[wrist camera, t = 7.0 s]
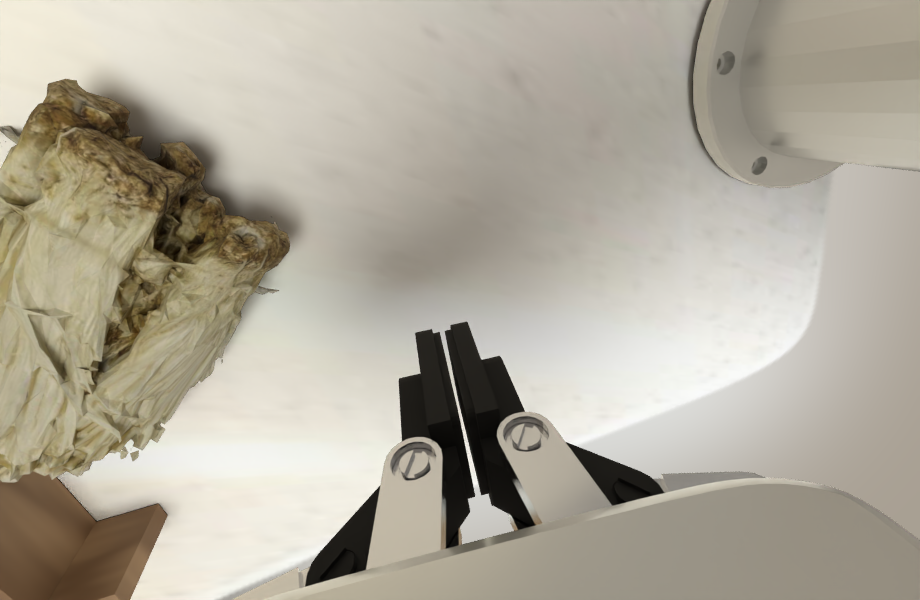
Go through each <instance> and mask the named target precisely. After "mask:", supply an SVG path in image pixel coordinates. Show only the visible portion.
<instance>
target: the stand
mask: <svg viewBox="0 0 920 600" xmlns="http://www.w3.org/2000/svg"><path fill="white" fill-rule="evenodd" d="M166 518H167V514H166V513H165V512H164V510H163V509H162V508H161V506H160V505H159V504H156V505H152V506H149V507H146V508H142V509H139V510H135V511H132V512H128V513H125V514H122V515H118V516H115V517H111V518H108V519H104V520H101V521H98V522H96V521H95V520H94V519H93V518H92V517H91V515H90V514H89V513H88V512H87V511H86V510H85V509H84V508H83V507H82V506H81V504H80V503H79V502H78V501H77V500H76V499H75V498H74V497H73V496H72V494H71V493H70V492H69V491H68V490H67V489H66V488H65V487H64V486H63V484H62V483H61V482H60V481H59V480H58V479H57V478H54V479H53V480H52V479H51V477H50V475H49V474H48V475H46V476H43V475H41V474H39V473H36V472H34V471H32V472H31V473H30V474H25V475H23V476H22V477H21V478H20V479H19V481H18V482H14V483H8V482H2V481H1V480H0V600H130V599H131V596H132V594H133V592H134V590H135V587H136V585H137V583H138V581H139V578H140V576H141V574H142V572H143V570H144V567H145V565H146V563H147V561H148V558H149V556H150V554H151V552H152V549H153V547H154V545H155V543H156V541H157V538H158V536H159V534H160V532H161V529H162V527H163V525H164V523H165V520H166Z"/></svg>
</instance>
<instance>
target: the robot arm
mask: <svg viewBox="0 0 920 600" xmlns="http://www.w3.org/2000/svg"><path fill="white" fill-rule="evenodd" d="M693 105H694V110H695V116H696V121H697V127H698V130H699V133H700V135H701V138H702V140H703V143H704V146H705V148H706V150H707V151H708V153H709V154H710V156H711V157H712V159H713V160H714V161H715V163H716V164H717V166H719V167H720V168H721V169H722V170H724V171H725V172H726V173H727V174H728V175H730V176H731V177H733V178H735V179H738V180H740V181H743V182H745V183H747V184H753V185H759V186H764V187H768V188H788V187H793V186H797V185H801V184H805V183H809V182H811V181H813V180H815V179H818V178H820V177H822V176H824V175H827V174H828V173H830V172H831V171H833V170H835V169H836V168H838V167H839V166H841V165H842V164H844V163H850V164H859V165H868V166H876V167H885V168H893V169H902V170H912V171H920V0H711V2H710V4H709V7H708V9H707V12H706V15H705V19H704V23H703V26H702V30H701V33H700V37H699V41H698V44H697V52H696V59H695V66H694V73H693ZM415 335H416V342H417V350H418V357H419V365H420V372H421V374H417V375H412V376H408V377H403V378H399V394H400V412H401V430H402V442H400V443H398V444H397V445H396V446H395V447H394V448H392V449H391V451H390V452H389V454H388V455H387V457H386V460H385V463H384V467H383V473H382V479H381V485H380V486H379V487H378V489H377V490H376V491H375V492H374V493H373V494H372V495H371V496H370V497H369V499H368V500H367V501H366V502H365V503H364V504H363V505H362V506H361V507H360V508H359V510H358V511H357V512H356V513H355V514H354V515H353V516H352V517H351V518H350V520H349V521H348V522H347V523H346V524H345V525H344V526H343V527H342V528H341V529H340V531H339V532H338V533H337V534H336V535H335V536H334V537H333V538H332V539H331V541H330V542H329V543H328V544H327V545H326V546H325V547H324V548H323V549H322V551H321V552H320V553H319V554H318V555H317V557H316V558H315V559H314V561H313V562H312V564H311V566H310V567H308V568H306V569H304V570H302V571H300V570H299V568H298V567H297V568H295V569H293V570H291V571H289V572H287V573H285V574H283V575H281V576H279V577H277V578H275V579H273V580H271V581H269V582H267V583H265V584H263V585H260V586H258V587H256V588H254V589H252V590H250V591H248V592H246V593H244V594H242V595H240V596H238V597H236V598H234V599H232V600H920V540H919V539H918V538H916V537H915V536H914V535H913V534H911V533H910V532H909V531H907V530H906V529H905V528H903V527H902V526H900V525H899V524H898V523H896V522H895V521H894V520H892V519H891V518H890V517H888V516H886V515H885V514H884V513H882V512H881V511H879V510H878V509H876V508H875V507H873V506H871V505H870V504H868V503H866V502H865V501H863V500H861V499H859V498H857V497H855V496H853V495H851V494H849V493H847V492H844V491H841V490H838V489H836V488H833V487H829V486H825V485H821V484H817V483H812V482H807V481H800V480H790V479H781V478H765V477H762V476H760V475H757V474H755V473H749V472H714V473H713V472H712V473H679V474H662V475H661V479H652V478H651V477H650V476H648V475H646V474H644V473H642V472H640V471H638V470H635V469H632V468H630V467H628V466H625V465H623V464H620V463H617V462H615V461H612V460H610V459H607V458H605V457H602V456H599V455H597V454H595V453H592V452H590V451H587V450H584V449H582V448H579V447H577V446H574V445H572V444H569V443H567V442H565V441H564V439H563V438H562V437H561V435H560V434H559V433H558V431H557V430H556V429H555V427H554V426H553V425H552V423H551V422H550V421H549V420H548V419H547V418H545V417H543V416H542V415H540V414H537V413H533V412H525V411H524V408H523V406H522V404H521V401H520V399H519V397H518V395H517V392H516V390H515V388H514V386H513V383H512V381H511V379H510V376H509V374H508V372H507V370H506V367H505V365H504V363H503V360H502V358H501V357H500V356H497V357H493V358H488V359H484V360H481V358H480V356H479V353H478V350H477V347H476V345H475V342H474V339H473V336H472V334H471V331H470V328H469V325H468V323H467V322H463V323H458V324H454V325H451V330H447V331H445V335H446V340H447V345H448V350H449V355H450V360H451V365H452V370H453V376H454V381H455V386H456V391H457V396H458V401H459V405H460V409H461V413H462V417H463V422H464V426H465V430H466V434H467V438H468V442H469V446H470V450H471V455H472V459H473V463H474V467H475V471H476V475H477V479H478V484H479V488H480V492H481V495H484V494H488V493H489V497H490V500H491V504H492V506H493V505H494V506H495V507H497V508H499V509H501V510H502V511H504V512H506V513H508V516H509V520H510V523H511V525H512V527H513V529H514V531H513V532H509V533H505V534H501V535H497V536H493V537H489V538H485V539H482V540H478V541H474V542H470V543H466V544H463V545H462V535H461V529H460V526H461V524H462V523H463V522H464V520H465V519H466V517H467V516H468V514H469V513H470V508H469V503H468V498H472V497H475V493H474V488H473V483H472V478H471V473H470V468H469V463H468V458H467V453H466V448H465V443H464V438H463V433H462V428H461V423H460V418H459V414H458V409H457V405H456V401H455V397H454V392H453V388H452V384H451V379H450V375H449V371H448V366H447V362H446V358H445V353H444V349H443V345H442V341H441V336H440V332H438V333H433V332H432V329H430V330H426V331H421V332H417V333H415Z"/></svg>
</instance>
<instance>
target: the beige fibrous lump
mask: <svg viewBox="0 0 920 600" xmlns="http://www.w3.org/2000/svg"><path fill="white" fill-rule="evenodd" d="M129 114H130V112H129V111H128V110H127V109H126V107H124V106H123V105H121V104H119V103H117V102H115V101H113V100H111V99H109V98H105V97H102V96H98V95H95V94H91V93H88V92H86V91H85V90H83V89H82V88H81V87H80V86H79V85H78V83H77V81H76V80H69V79H63V80H60V81H56V82H53V83H49V84H48V88H47V96H46V98H45V100H44V102H43V103H41V104H38V105H37V107H36V108H35V109H34V110H33V112H32V113H31V114H30V116H29V118H28V120H27V122H26V124H25V126H24V128H23V130H22V132H21V135H20V137H18V136H17V135H16V134H15V133H14V132H13V130H12V129H11V128H10V127H9V126H4V127H0V131H1V132H2V133H3V134H5V135H6V136H7V137H8V138H9V139H10V140H12V141H13V142H15V143H16V144H17V145H15V146H14V147H12V148H11V149H10V151H9V153H8V155H7V157H6V159H5V161H4V163H3V165H2V167H1V169H0V480H1V481H2V482H8V483H14V482H18V481H19V479H20V478H21V477H22V476H23V475H25V474H30V473H31V472H32V471H34V472H36V473H39V474H41V475H43V476H46V475H48V474H49V475H50V477H51V479H52V480H53V479H54V478H56V477H58V476H60V475H61V474H63V473H65V472H67V471H68V472H69V473H71V474H73V475H76V476H77V477H78V476H79V475H82V474H83V472H84V471H87V470H89V469H90V466H91V464H92V461H98V460H101V459H103V458H104V456H106V455H107V454H108V453H116V452H120V451H121V450H123V451H121V459H123V458H125V457H126V456H127V454H128V451H127V449H126V447H124V445H125V444H126V443H127V442H128V441H129V440H130V439H132V440H133V441H134V444H133V446H134V447H136V448H138V449H141V450H143V449H144V448H145V446H146V445H147V444H148V442H149V440H150V439H152V440H154V441H155V442H158V441H159V439H160V437H161V435H162V434H163V432H164V431H165V428H163V427H161V426H160V424H161V423H163V424H165V423H166V422H167V421H169V420H170V419H171V417H172V415H173V414H174V413H175V410H176V409H177V407H178V406H179V404H180V403H181V401H182V399H183V398H184V396H185V395H186V393H187V391H188V390H189V388H192V387H194V386H195V385H196V384H197V382H198V381H201V382H202V381H203V380H204V379H205V378H207V377H208V376H210V375H211V373H212V372H213V369H214V364H215V360H216V359H217V358H218V357H220V358H222V356H223V351H224V349H225V346H226V345H227V344H228V342H229V341H230V339H231V337H232V335H233V333H234V331H235V330H236V327H237V325H238V323H239V321H240V320H241V309H242V307H243V305H244V303H245V301H246V299H247V297H248V296H250V295H252V294H253V293H254V292H256V293H259V294H262V295H263V294H265V293H267V292H271V293H274V292H277V291H279V290H274V289H267V288H263V287H260V286H258V284H259V282H260V281H261V279H262V277H263V275H264V274H265V272H267V271H269V270H271V269H272V268H274V267H276V266H277V265H278V264H279V263H280V262H281V260H282V259H283V258H284V257H285V255H286V254H287V253H288V251H289V247H290V241H289V237H288V235H287V233H285V232H283V231H281V230H279V229H278V226H277V224H276V222H275V221H274V224H272V223H270V222H267V221H250V220H248V219H246V218H245V217H241V216H232V215H225V213H226V210H225V208H224V206H223V204H222V202H221V200H220V198H218V197H214V196H211V195H209V194H207V193H206V191H205V189H204V188H203V186H202V184H201V182H202V181H203V180H204V175H205V170H206V169H205V167H204V166H203V165H202V163H201V162H200V161H199V160H198V158H197V157H196V156H195V154H194V153H193V152H192V151H191V150H190V149H189V147H188V146H187V145H186V144H185V143H184V142H177V143H160V145H161V157H158V158H156V159H153V160H149V159H148V157H147V156H146V155H145V154H144V153H143V152H144V151H141V150H140V146H141V143H142V140H143V136H139V137H131V135H130V134H129V133H128V132H129V131H130V130H129V127H128V124H127V120H128V117H129ZM5 142H6V141H5ZM0 143H1V142H0ZM271 217H272V216H271ZM222 362H223V360H222ZM123 447H124V448H123ZM122 448H123V449H122ZM131 449H132V448H131ZM130 451H131V450H130ZM130 454H131V457H132V460H133V461H134V460H135V459H137V458H138V454H139V451H136V452H133V453H130Z"/></svg>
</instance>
